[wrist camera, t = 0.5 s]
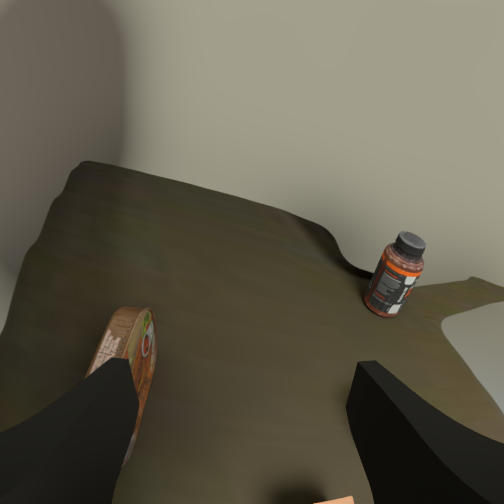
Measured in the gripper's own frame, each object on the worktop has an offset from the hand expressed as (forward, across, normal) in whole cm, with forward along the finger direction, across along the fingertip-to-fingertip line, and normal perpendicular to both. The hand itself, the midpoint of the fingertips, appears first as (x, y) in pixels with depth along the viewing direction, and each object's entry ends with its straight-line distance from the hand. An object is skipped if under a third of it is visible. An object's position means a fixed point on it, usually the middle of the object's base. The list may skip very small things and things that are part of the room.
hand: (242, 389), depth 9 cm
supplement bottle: (+31, -20, +13) cm, 39 cm away
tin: (+13, +10, +15) cm, 22 cm away
